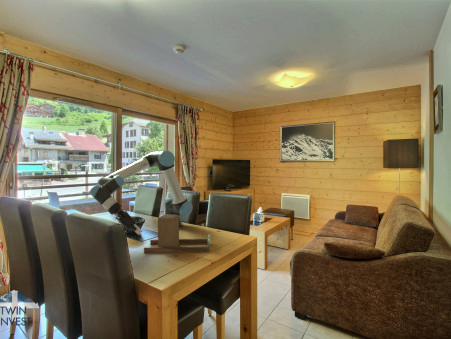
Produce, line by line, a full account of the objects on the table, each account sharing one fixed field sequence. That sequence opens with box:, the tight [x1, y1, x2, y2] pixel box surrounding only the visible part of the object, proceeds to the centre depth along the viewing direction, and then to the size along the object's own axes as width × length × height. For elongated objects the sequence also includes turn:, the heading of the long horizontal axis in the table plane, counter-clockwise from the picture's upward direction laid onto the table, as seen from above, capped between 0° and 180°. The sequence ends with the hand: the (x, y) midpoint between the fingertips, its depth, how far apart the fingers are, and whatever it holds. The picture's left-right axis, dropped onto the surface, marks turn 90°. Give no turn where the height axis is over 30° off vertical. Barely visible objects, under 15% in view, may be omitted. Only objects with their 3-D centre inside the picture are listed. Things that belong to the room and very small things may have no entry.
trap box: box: [143, 233, 211, 254], centre depth 149 cm, size 15×38×6 cm, turn 92°
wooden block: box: [157, 213, 180, 247], centre depth 149 cm, size 10×10×20 cm
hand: (140, 233), depth 147 cm, fingers closed
